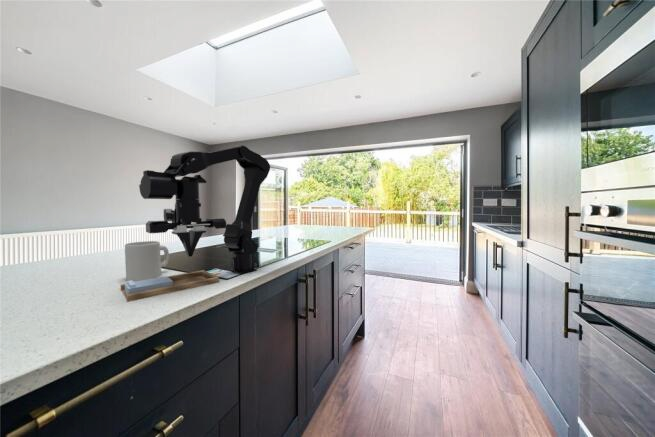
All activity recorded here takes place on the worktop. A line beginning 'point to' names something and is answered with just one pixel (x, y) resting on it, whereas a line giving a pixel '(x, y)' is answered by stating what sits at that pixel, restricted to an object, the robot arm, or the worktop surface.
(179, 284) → the brown flat wooden tray
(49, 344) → the worktop surface
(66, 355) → the worktop surface
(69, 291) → the worktop surface
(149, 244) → the mug
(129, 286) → the blue mattress with pillow
